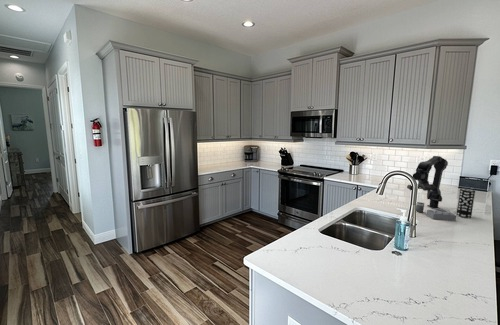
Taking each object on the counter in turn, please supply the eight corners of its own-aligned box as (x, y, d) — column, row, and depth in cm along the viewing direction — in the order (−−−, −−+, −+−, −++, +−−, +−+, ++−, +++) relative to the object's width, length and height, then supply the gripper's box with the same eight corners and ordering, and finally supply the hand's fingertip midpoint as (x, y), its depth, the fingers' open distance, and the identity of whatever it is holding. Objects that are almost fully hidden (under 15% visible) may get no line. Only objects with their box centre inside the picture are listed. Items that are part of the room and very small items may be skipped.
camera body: (426, 214, 178) (427, 207, 177) (447, 216, 175) (448, 209, 175) (433, 219, 169) (434, 211, 168) (455, 221, 166) (456, 213, 166)
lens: (413, 210, 188) (414, 201, 187) (421, 210, 187) (422, 202, 186) (417, 212, 183) (418, 203, 182) (424, 213, 182) (425, 204, 181)
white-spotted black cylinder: (474, 218, 172) (478, 191, 169) (462, 218, 172) (466, 191, 169) (464, 214, 180) (468, 188, 177) (453, 214, 180) (456, 188, 178)
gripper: (414, 180, 175) (412, 201, 177) (443, 182, 171) (440, 202, 174) (407, 177, 186) (405, 196, 188) (434, 178, 182) (432, 198, 184)
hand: (420, 198), depth 183 cm, fingers open, 9 cm apart
